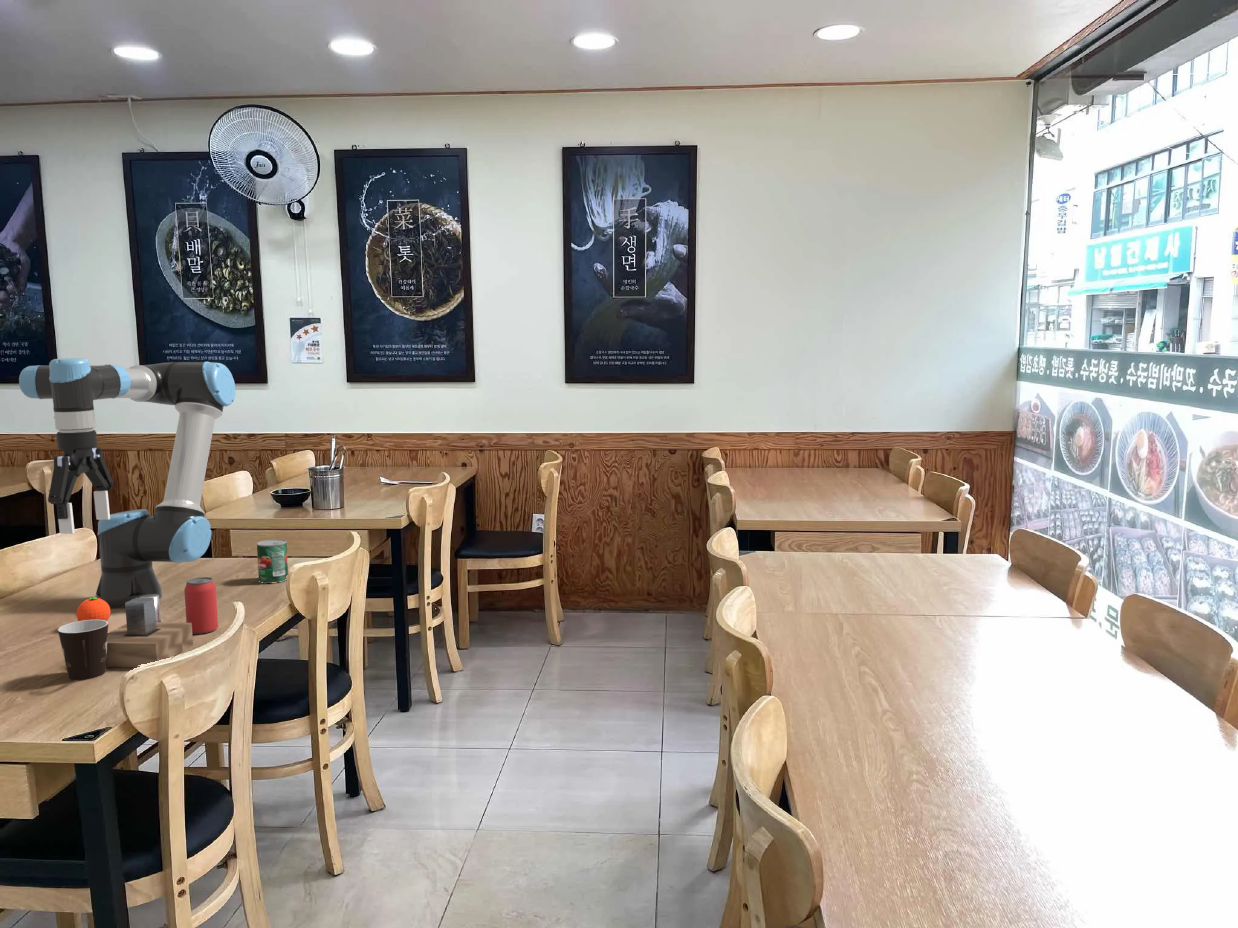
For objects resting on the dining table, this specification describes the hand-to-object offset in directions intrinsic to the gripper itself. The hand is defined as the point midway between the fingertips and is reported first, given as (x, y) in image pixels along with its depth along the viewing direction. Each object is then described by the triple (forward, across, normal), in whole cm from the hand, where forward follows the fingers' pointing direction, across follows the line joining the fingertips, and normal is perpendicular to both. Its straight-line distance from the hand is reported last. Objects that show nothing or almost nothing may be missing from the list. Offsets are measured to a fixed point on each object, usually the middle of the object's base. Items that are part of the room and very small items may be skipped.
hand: (85, 526), depth 196 cm
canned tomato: (+28, -51, +20) cm, 62 cm away
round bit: (+26, +1, +12) cm, 29 cm away
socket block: (+26, +11, +16) cm, 32 cm away
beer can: (+26, -6, +21) cm, 34 cm away
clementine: (+26, -9, -6) cm, 29 cm away
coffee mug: (+26, +24, +11) cm, 36 cm away
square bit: (+26, +11, +16) cm, 32 cm away
